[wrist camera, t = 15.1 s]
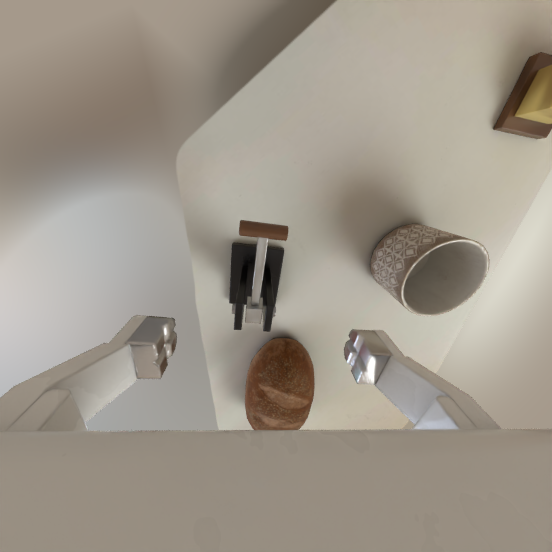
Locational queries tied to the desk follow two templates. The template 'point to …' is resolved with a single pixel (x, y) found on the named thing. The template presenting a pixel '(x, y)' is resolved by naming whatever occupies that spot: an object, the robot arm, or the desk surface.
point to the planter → (429, 268)
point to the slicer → (244, 277)
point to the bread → (279, 386)
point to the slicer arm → (259, 261)
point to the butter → (530, 100)
